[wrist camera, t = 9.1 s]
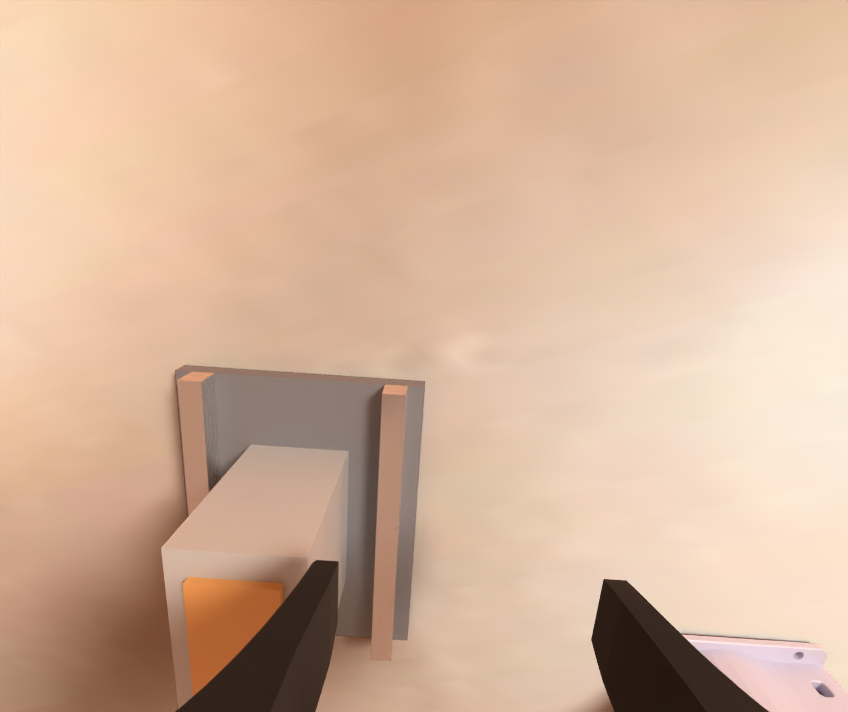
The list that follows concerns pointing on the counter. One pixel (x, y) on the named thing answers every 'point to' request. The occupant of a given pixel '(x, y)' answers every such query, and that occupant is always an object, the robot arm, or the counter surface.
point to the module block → (250, 553)
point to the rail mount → (331, 430)
